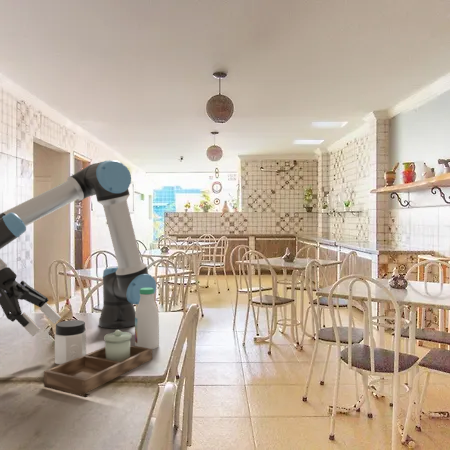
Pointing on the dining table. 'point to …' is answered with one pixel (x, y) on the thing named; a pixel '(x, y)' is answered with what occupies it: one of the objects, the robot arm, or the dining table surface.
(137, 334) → the milk bottle
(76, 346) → the jar
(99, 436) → the dining table surface
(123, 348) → the sugar pot
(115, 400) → the dining table surface
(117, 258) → the robot arm
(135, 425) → the dining table surface
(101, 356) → the caddy
